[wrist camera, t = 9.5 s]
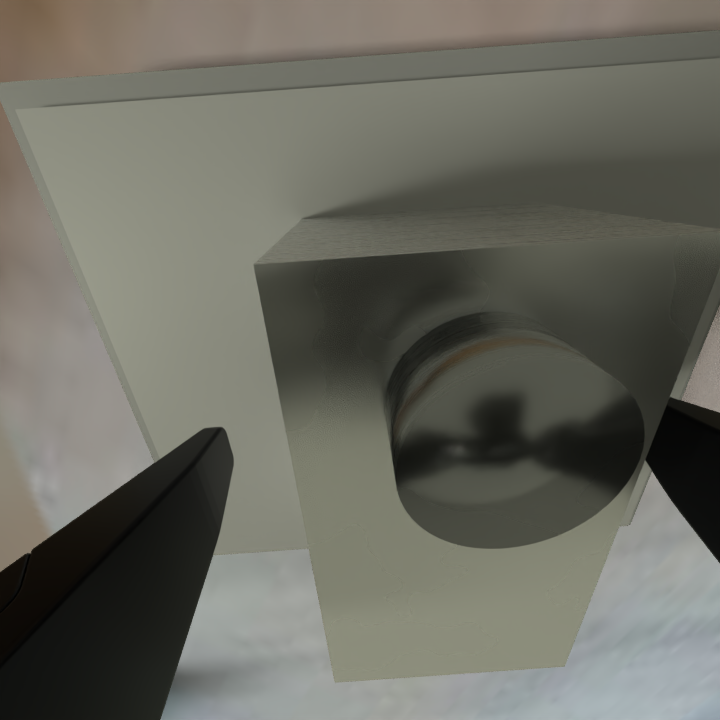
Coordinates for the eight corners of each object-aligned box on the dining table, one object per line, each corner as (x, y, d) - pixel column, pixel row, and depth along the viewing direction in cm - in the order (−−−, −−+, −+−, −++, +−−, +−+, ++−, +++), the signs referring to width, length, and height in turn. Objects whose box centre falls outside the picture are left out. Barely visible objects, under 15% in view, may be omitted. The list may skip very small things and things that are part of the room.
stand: (711, 60, 9) (861, 13, 6) (587, 472, 16) (638, 534, 13) (82, 106, 9) (-27, 78, 7) (216, 499, 16) (190, 566, 13)
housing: (491, 500, 12) (598, 743, 7) (338, 511, 12) (332, 762, 7) (534, 201, 8) (888, 253, 3) (301, 218, 8) (215, 300, 3)
